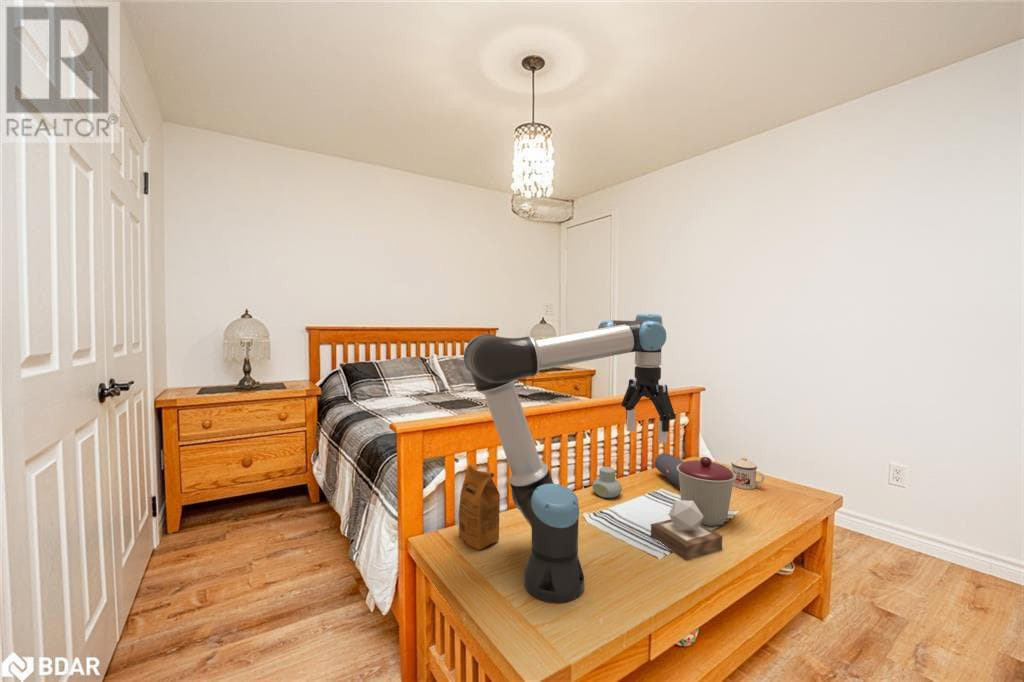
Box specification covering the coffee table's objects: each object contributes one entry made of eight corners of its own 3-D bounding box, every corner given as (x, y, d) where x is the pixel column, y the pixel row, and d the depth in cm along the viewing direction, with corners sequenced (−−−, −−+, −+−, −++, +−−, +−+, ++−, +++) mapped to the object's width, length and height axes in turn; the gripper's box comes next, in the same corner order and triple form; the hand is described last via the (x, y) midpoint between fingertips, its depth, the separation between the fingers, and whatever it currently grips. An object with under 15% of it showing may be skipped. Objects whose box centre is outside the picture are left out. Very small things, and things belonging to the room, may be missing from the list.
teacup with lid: (727, 485, 173) (728, 457, 172) (735, 479, 179) (736, 452, 179) (760, 494, 164) (761, 464, 164) (767, 488, 171) (768, 459, 170)
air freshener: (588, 493, 164) (589, 467, 163) (601, 487, 169) (601, 463, 169) (612, 502, 156) (613, 475, 155) (625, 496, 161) (626, 470, 161)
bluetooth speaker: (652, 475, 184) (653, 452, 183) (672, 473, 186) (673, 451, 185) (683, 496, 162) (684, 470, 161) (705, 495, 163) (706, 469, 163)
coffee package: (480, 526, 137) (480, 459, 136) (503, 542, 127) (504, 470, 126) (453, 536, 131) (453, 465, 130) (476, 553, 121) (476, 477, 120)
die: (697, 542, 122) (712, 510, 124) (668, 523, 124) (684, 492, 126) (687, 538, 130) (701, 508, 132) (660, 520, 132) (675, 491, 134)
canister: (732, 513, 148) (735, 453, 147) (735, 537, 132) (738, 470, 131) (677, 503, 156) (678, 446, 155) (673, 524, 139) (675, 461, 138)
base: (686, 560, 119) (687, 545, 119) (650, 536, 131) (651, 523, 131) (721, 549, 125) (722, 535, 124) (684, 527, 137) (684, 514, 137)
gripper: (690, 370, 118) (687, 446, 119) (629, 361, 140) (628, 425, 141) (669, 371, 114) (667, 449, 116) (611, 362, 137) (609, 427, 138)
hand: (645, 436), depth 128 cm, fingers open, 13 cm apart
